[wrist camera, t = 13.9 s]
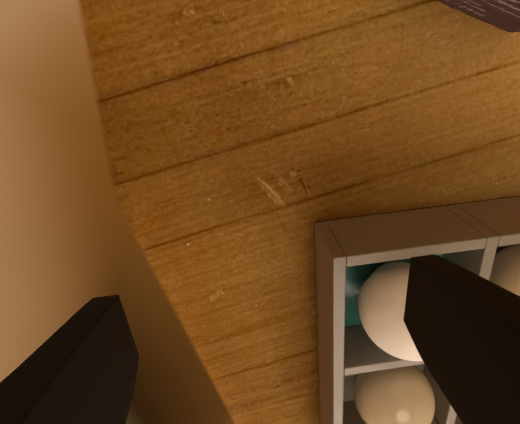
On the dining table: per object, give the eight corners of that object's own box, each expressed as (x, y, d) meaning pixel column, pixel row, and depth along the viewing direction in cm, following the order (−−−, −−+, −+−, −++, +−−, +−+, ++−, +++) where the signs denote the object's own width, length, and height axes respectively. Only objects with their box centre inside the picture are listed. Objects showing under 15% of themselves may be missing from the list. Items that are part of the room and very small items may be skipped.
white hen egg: (446, 258, 20) (513, 322, 15) (397, 320, 21) (444, 394, 17) (375, 227, 18) (425, 287, 14) (328, 297, 20) (359, 370, 16)
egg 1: (342, 392, 24) (367, 465, 20) (343, 344, 22) (371, 412, 18) (408, 382, 24) (446, 452, 20) (414, 333, 22) (458, 399, 18)
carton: (320, 461, 28) (333, 514, 25) (314, 222, 19) (333, 258, 15) (497, 433, 29) (530, 481, 26) (579, 188, 19) (648, 216, 16)
